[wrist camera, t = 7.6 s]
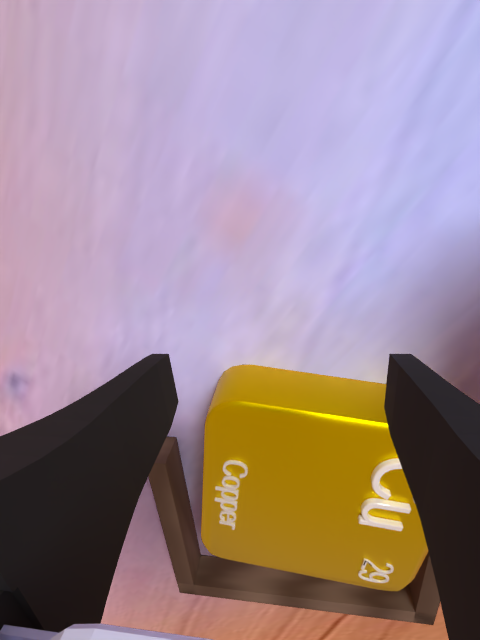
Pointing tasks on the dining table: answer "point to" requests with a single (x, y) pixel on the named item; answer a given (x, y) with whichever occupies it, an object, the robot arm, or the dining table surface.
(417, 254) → the dining table surface
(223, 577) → the walnut holder
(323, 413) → the element tile
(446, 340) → the dining table surface
